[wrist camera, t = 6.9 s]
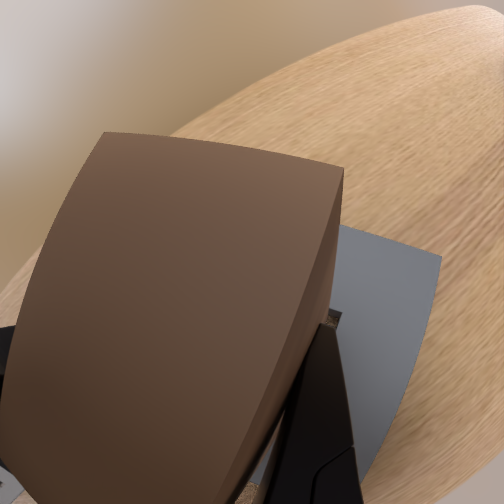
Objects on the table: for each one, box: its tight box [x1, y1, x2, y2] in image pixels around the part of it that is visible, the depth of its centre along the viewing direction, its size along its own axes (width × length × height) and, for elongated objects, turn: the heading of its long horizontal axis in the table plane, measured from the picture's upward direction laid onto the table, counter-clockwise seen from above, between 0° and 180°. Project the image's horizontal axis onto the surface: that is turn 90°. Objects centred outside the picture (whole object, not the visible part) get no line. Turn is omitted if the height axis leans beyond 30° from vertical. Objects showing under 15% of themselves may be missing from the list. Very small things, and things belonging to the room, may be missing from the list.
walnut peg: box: [0, 132, 344, 504], centre depth 8 cm, size 5×3×12 cm, turn 158°
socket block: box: [250, 225, 442, 485], centre depth 17 cm, size 16×14×4 cm
